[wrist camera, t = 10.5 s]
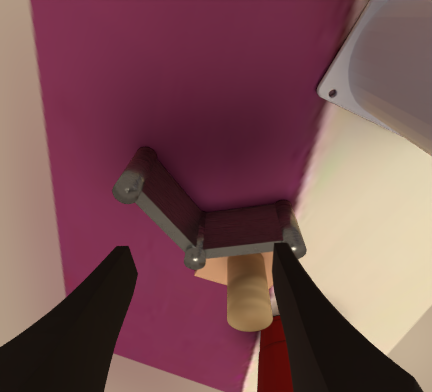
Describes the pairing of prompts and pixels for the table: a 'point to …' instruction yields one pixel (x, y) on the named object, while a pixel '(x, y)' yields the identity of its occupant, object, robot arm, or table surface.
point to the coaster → (218, 269)
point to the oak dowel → (248, 293)
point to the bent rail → (204, 216)
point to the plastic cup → (274, 360)
